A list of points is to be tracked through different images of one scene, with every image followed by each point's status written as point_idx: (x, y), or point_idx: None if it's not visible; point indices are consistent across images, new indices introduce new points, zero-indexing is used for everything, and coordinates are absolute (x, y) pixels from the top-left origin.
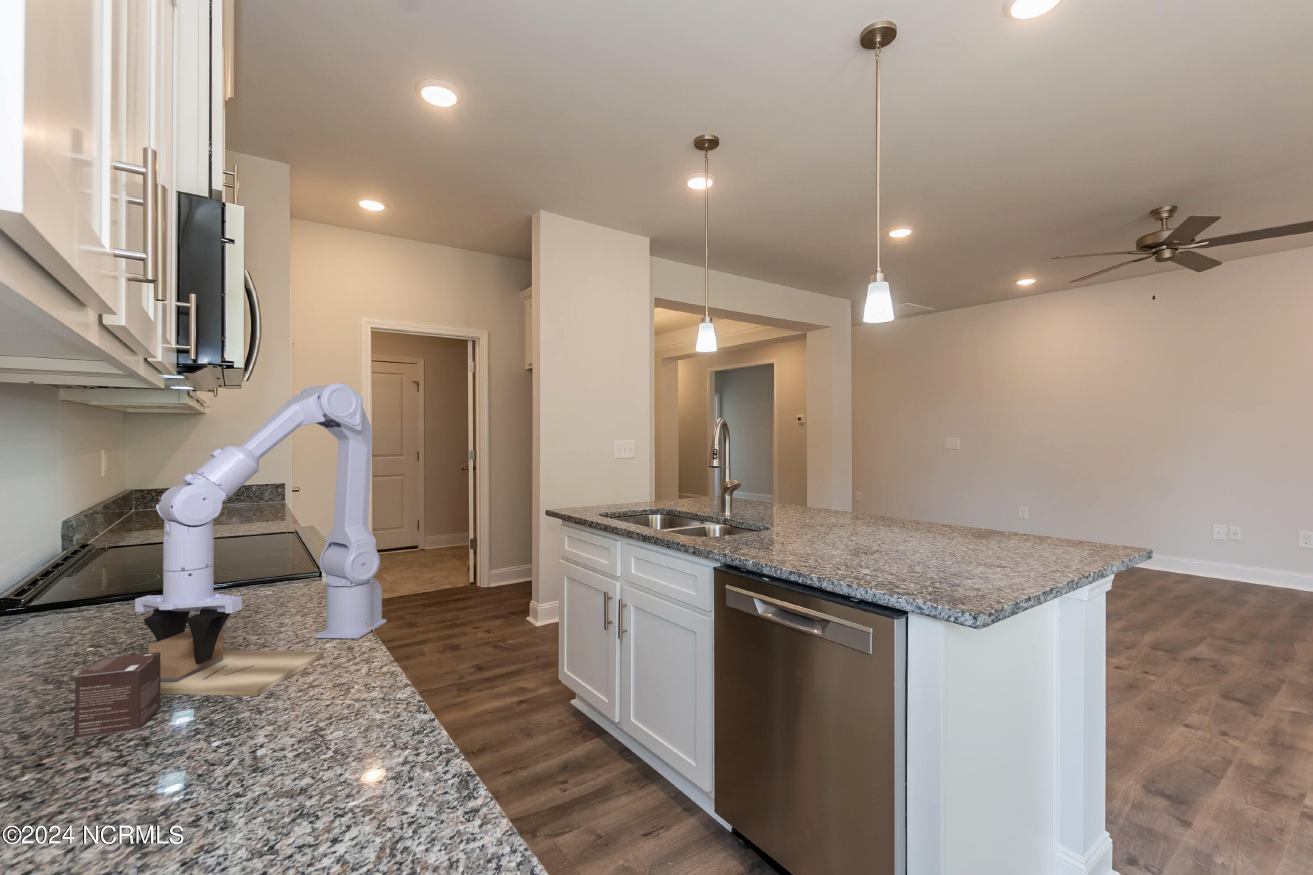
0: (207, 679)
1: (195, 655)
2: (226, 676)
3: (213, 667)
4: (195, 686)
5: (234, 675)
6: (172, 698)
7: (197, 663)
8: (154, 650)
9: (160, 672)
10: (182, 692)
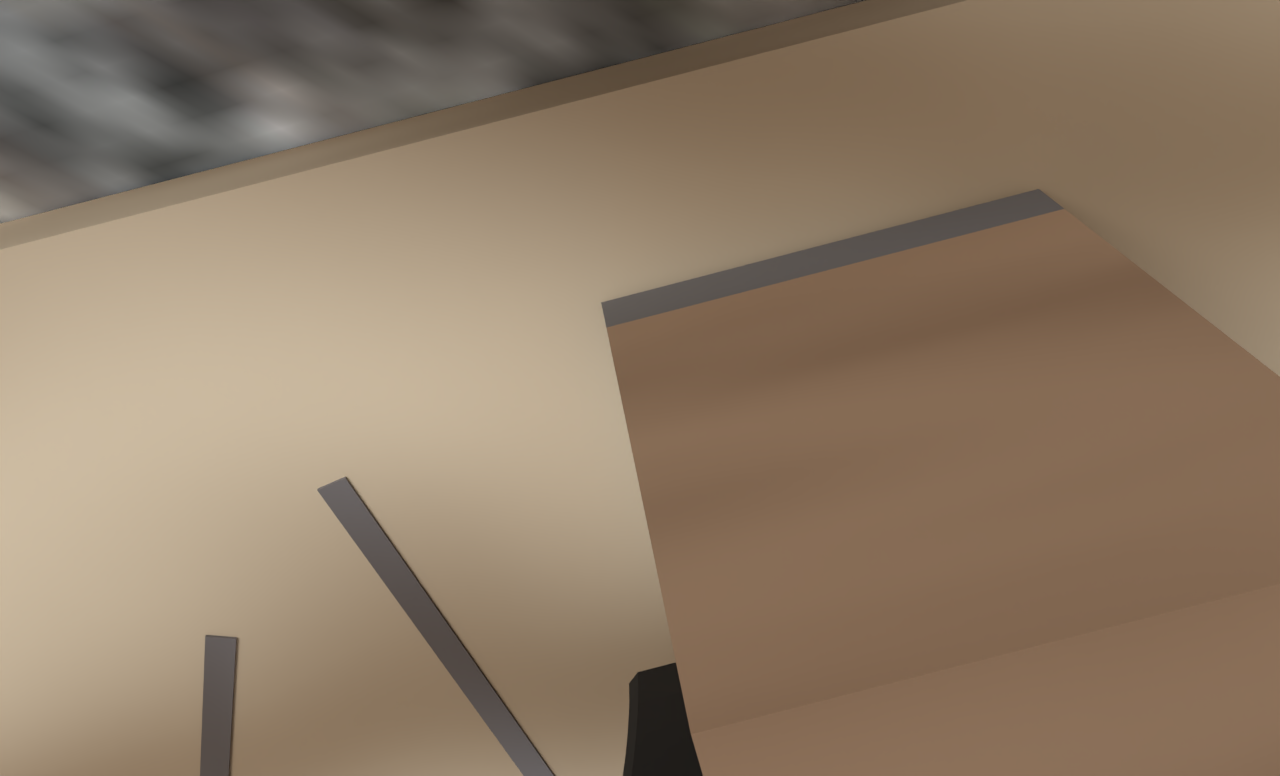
0: (281, 498)
1: (692, 748)
2: (146, 629)
3: None
4: (144, 296)
5: (77, 676)
6: (245, 10)
7: (674, 667)
8: (1226, 487)
9: (893, 296)
10: (265, 166)
